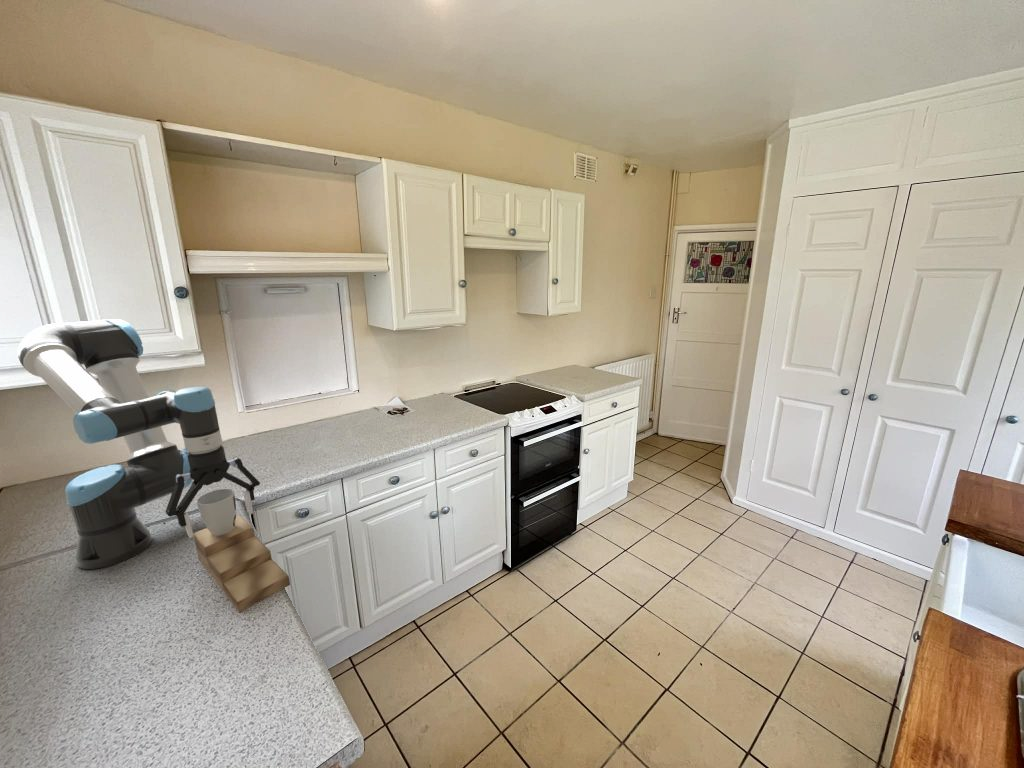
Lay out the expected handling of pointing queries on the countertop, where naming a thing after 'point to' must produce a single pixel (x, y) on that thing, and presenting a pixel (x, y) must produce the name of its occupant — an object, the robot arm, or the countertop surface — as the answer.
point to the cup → (218, 511)
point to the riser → (240, 564)
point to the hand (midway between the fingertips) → (221, 523)
